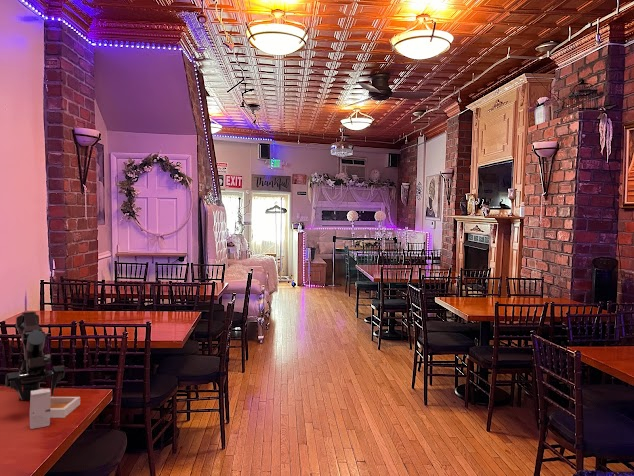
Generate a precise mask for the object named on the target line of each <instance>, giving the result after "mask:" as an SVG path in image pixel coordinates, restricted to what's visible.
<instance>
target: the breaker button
mask: <svg viewBox="0 0 634 476" xmlns="http://www.w3.org/2000/svg"><path fill="white" fill-rule="evenodd" d="M66 405H67V404H55V403H51V404H50V408H64V407H65V406H66Z"/></svg>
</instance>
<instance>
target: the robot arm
mask: <svg viewBox="0 0 634 476" xmlns="http://www.w3.org/2000/svg"><path fill="white" fill-rule="evenodd" d="M39 325H40V315H38V314H37V312H36V311H25V312H22V313H21V315H18V316H17V317H16V319H15V329H17V333H18V335H20V336H21V338H20V339H21V344H23V355H24V360H22V363H21V367H20V368H21V369H20V370H19V371H13V372H8V373H6V375H5V387H6V388H10V389H13V390H14V391H15V392H16V393H17V394H18V396H19V398H18V401H30V396H31V391H34V390H40V389H41V387H40V384H41V383H45V381H46V378H47V377H51V388H50V391H51V396H53V395H54V391H55V388H56V386H57V383H58V382H60V381H61V379H64V378H65V376H66V375H65V374H66V367H65V365H63V364H61V365H57V366H52V370H46V365H47V364H51V361H52V359H51V358H52V357H51V353H49V354H48V353H47V354H44V348H45V342H46V341H47V340H48V335H47V333H46V332H45V331H44V330H43V328H42V327H41V326H39Z"/></svg>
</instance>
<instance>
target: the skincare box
mask: <svg viewBox="0 0 634 476" xmlns="http://www.w3.org/2000/svg"><path fill="white" fill-rule="evenodd" d="M51 397H52V395H51V388H49V387H48V388H40V390H34V391H31V396H30V400H29V402H30V403H29V429H30V430H33V429H39V428H44V427H49V426H50V425H51V418H50V401H51Z"/></svg>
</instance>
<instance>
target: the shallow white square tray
mask: <svg viewBox="0 0 634 476" xmlns="http://www.w3.org/2000/svg"><path fill="white" fill-rule="evenodd" d="M51 403H55V404H67V405H66V406H65V407H64V408H50V419H51V418H55V419H57V418H58V419H60V418H61V419H63V418H65V419H66V417H67V416H69V414H71V413H72V412H73V411H74V410H75V409H77V408H78V407H79V406H80V405H81V397H80V396H51V401H50V404H51Z"/></svg>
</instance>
